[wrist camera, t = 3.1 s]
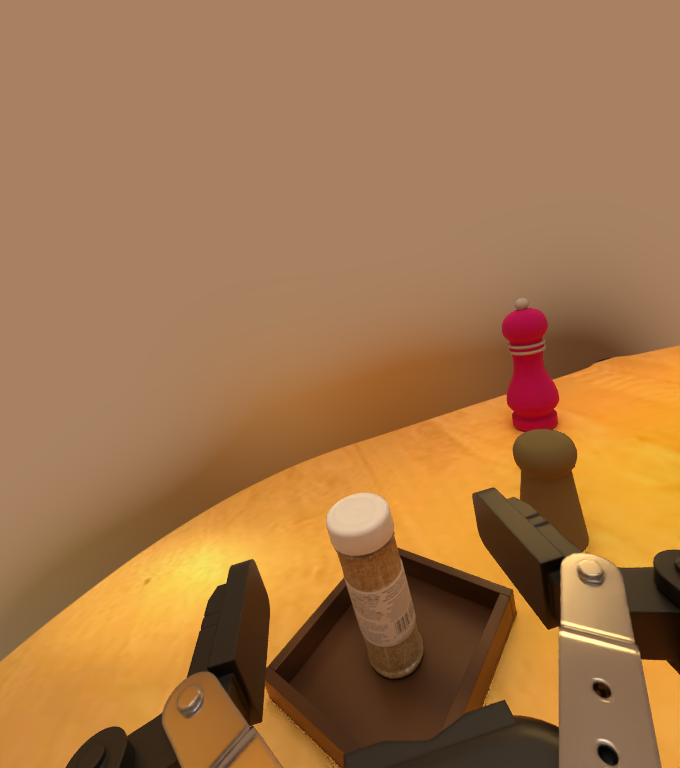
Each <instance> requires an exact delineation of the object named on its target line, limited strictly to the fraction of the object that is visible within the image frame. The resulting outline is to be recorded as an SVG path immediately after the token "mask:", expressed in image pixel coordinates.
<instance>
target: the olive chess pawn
mask: <svg viewBox="0 0 680 768" xmlns="http://www.w3.org/2000/svg"><path fill="white" fill-rule="evenodd" d="M513 455H514V459H515V462H516V464H517V465H518V466H519V468H520V469H521V488H520V500H521V501H523V502H526V503H528V504H529V505H530V506H532V507H533V508H534V509H535V510H536V511H537V512H538V513H539V515H542V516H543V517H544V518H545V519H546V520H547V521H548V523H550V524H552V525H553V526H554V527H555V528H556V529H557V530H558V531H559V532H560V533H562V534H563V535H564V536H565V537H566V538H567V539H568V540H569V541H571V542H572V543H573V544H574V545H575V546H576V547H577V548H578V549H579V550H581V551H584V550H585V548H586V547H587V546H588V541H589V537H588V533H587V529H586V525H585V521H584V518H583V514H582V510H581V506H580V502H579V498H578V494H577V490H576V486H575V483H574V479H573V475H572V471H571V470H572V469H573V468H574V467H575V464H576V460H577V450H576V447H575V445H574V443H573V441H572V440H571V439H570V438H569V437H568V436H567V435H565V434H564V433H561V432H558V431H555V430H550V429H536V430H531V431H528V432H525V433H523V434H521V435H520V436H518V438H517V439H516V441H515V443H514V445H513Z"/></svg>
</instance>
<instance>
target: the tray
mask: <svg viewBox="0 0 680 768" xmlns="http://www.w3.org/2000/svg"><path fill="white" fill-rule="evenodd" d="M397 549H398V552H399V556H400V558H401V560H402V563H403V567H404V571H405V575H406V579H407V583H408V587H409V591H410V595H411V599H412V603H413V607H414V611H415V617H416V624H417V628H418V632H419V633H420V636H421V638H422V641H423V656H422V659H421V662H420V663H419V665H418V667H417V668H416V669H415V670H414V671H413V672H412V673H411V674H409V675H407V676H405V677H403V678H397V679H389V678H387V677H384V676H382V675H381V674H379V673H378V672H377V671H376V670H375V669H374V668H373V667H372V666H371V663H370V660H369V658H368V653H367V647H366V643H365V640H364V637H363V634H362V632H361V630H360V627H359V624H358V620H357V617H356V614H355V611H354V608H353V605H352V601H351V598H350V595H349V592H348V588H347V585H346V582H345V579H344V578H343V579H342V581H341V582H340V583H339V584H338V585H337V586H336V588H335V589H334V590H333V591H332V592H331V593H330V595H329V596H328V597H327V598H326V599H325V600H324V602H323V603H322V604H321V605H320V606H319V607H318V609H317V610H316V611H315V612H314V613H313V614H312V616H311V617H310V618H309V619H308V620H307V621H306V623H305V624H304V625H303V626H302V627H301V628H300V630H299V631H298V632H297V633H296V634H295V635H294V637H293V638H292V639H291V640H290V641H289V642H288V644H287V645H286V646H285V647H284V648H283V649H282V651H281V652H280V653H279V654H278V655H277V656H276V658H275V659H274V660H273V661H272V662H271V663H270V665H269V666H268V667H267V668H266V675H265V687H266V689H267V692H268V694H269V697H270V698H271V699H272V700H273V701H274V702H275V703H276V704H277V705H278V706H279V707H280V708H281V709H282V710H283V711H284V712H285V713H286V714H287V715H288V716H289V717H290V718H291V719H292V720H293V721H294V722H295V723H296V724H297V725H298V726H299V727H300V728H301V729H302V730H303V731H305V732H306V733H307V734H308V735H309V736H310V737H311V738H312V739H313V740H314V741H315V742H316V743H317V744H318V745H319V746H320V747H321V748H322V749H323V750H324V751H325V752H326V753H327V754H328V755H329V756H330V757H331V758H332V759H333V760H334V761H335V762H336V763H337V764H338V765H339V766H340V767H341V768H345V767H344V758H343V754H346V753H349V752H352V751H355V750H358V749H361V748H364V747H367V746H369V745H372V744H375V743H378V742H381V741H425V740H430V739H432V738H433V737H435V736H436V735H437V734H439V733H440V732H441V731H443V730H444V729H445V728H447V727H448V726H449V725H451V724H452V723H453V722H455V721H456V720H457V719H459V718H460V717H461V716H462V715H464V714H465V713H467V712H470V711H473V710H476V709H479V708H482V705H483V702H484V699H485V697H486V694H487V691H488V689H489V686H490V683H491V681H492V678H493V675H494V673H495V670H496V667H497V665H498V662H499V659H500V657H501V654H502V651H503V648H504V646H505V643H506V640H507V638H508V635H509V632H510V630H511V627H512V624H513V622H514V619H515V616H516V614H517V613H516V607H515V601H514V594H513V590H512V589H510V588H507V587H504V586H501V585H499V584H496V583H493V582H490V581H488V580H485V579H482V578H479V577H477V576H474V575H471V574H468V573H466V572H463V571H460V570H457V569H455V568H452V567H449V566H447V565H444V564H441V563H438V562H436V561H433V560H430V559H427V558H425V557H422V556H419V555H416V554H414V553H411V552H408V551H405V550H403V549H400V548H397Z"/></svg>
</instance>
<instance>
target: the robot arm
mask: <svg viewBox="0 0 680 768" xmlns="http://www.w3.org/2000/svg"><path fill="white" fill-rule="evenodd" d="M472 497H473V504H474V510H475V516H476V522H477V527H478V532H479V535H480V537H481V540H482V542H483V544H484V545H485V547H486V548H487V550H488V551H489V552H490V554H491V555H492V556H493V558H494V559H495V560H496V562H497V563H498V564H499V566H500V567H501V568H502V570H503V571H504V572H505V574H506V575H507V576H508V578H509V579H510V580H511V581H512V583H513V584H514V585H515V587H516V588H517V589H518V591H519V592H520V593H521V595H522V596H523V597H524V599H525V600H526V601H527V603H528V604H529V605H530V607H531V608H532V609H533V611H534V612H535V613H536V615H537V616H538V617H539V619H540V620H541V621H542V623H543V624H544V625H545V626H546V628H547V629H548V630H549V629H552V628H555V627H558V626H559V727H557V726H555V725H553V724H550V723H548V722H545V721H543V720H539V719H536V718H532V717H526V716H515V715H512V713H511V711H510V709H509V707H508V705H507V703H506V701H505V700H503V701H500V702H497V703H494V704H491V705H488V706H485V707H482V708H479V709H476V710H473V711H470V712H467V713H465V714H464V715H462V716H461V717H460V718H459V719H457V720H456V721H455V722H453V723H452V724H451V725H449V726H448V727H447V728H445V729H444V730H443V731H441V732H440V733H439V734H437V735H436V736H435V737H433V738H432V739H430V740H425V741H381V742H378V743H375V744H372V745H369V746H367V747H364V748H361V749H358V750H355V751H352V752H349V753H346V754H343V758H344V767H345V768H662V767H661V762H660V757H659V751H658V746H657V741H656V736H655V730H654V725H653V720H652V714H651V709H650V704H649V699H648V693H647V688H646V683H645V677H644V672H643V667H642V662H641V659H646V660H667V661H668V663H669V664H670V665H671V666H672V667H673V668H674V669H675V670H676V671H677V672H678V673H679V674H680V550H666V551H662V552H660V553H658V554H657V555H656V556H655V557H654V562H653V565H654V567H644V568H619V567H616V566H615V565H614V564H613V563H611V562H610V561H608V560H607V559H605V558H602V557H600V556H597V555H594V554H589V553H583V552H582V551H581V550H579V549H578V548H577V547H576V546H575V545H574V544H573V543H572V542H571V541H569V540H568V539H567V538H566V537H565V536H564V535H563V534H562V533H560V532H559V531H558V530H557V529H556V528H555V527H554V526H553V525H552V524H550V523H548V521H547V520H546V519H545V518H544V517H543V516H542V515H539V513H538V512H537V511H536V510H535V509H534V508H533V507H532V506H530V505H529V504H528V503H526V502H523V501H521V500H519V499H517V498H515V497H512V498H509V499H506V498H505V497H504V496H503V495H502V494H501V493H500V492H499V491H498V490H497V489H495V488H489V489H486V490H483V491H479V492H476V493H473V496H472ZM269 620H270V605H269V599H268V595H267V592H266V589H265V586H264V584H263V581H262V578H261V576H260V573H259V571H258V568H257V565H256V563H255V561H254V560H253V559H251V560H248V561H245V562H241V563H238V564H235V565H232V566H231V567H230V569H229V574H228V578H227V582H226V584H223V585H220V586H218V587H217V588H216V590H215V591H214V593H213V594H212V596H211V597H210V599H209V600H208V603H207V607H206V611H205V614H204V618H203V621H202V625H201V631H200V632H199V636H198V639H197V643H196V647H195V650H194V654H193V657H192V661H191V665H190V668H189V672H188V675H187V678H186V679H185V680H184V681H183V682H181V683H180V684H179V685H178V686H177V687H176V688H175V690H174V691H173V692H172V694H171V695H170V696H169V698H168V700H167V702H166V704H165V706H164V709H163V712H162V713H161V714H160V715H159V716H157V717H156V718H154V719H153V720H151V721H150V722H148V723H147V724H145V725H144V726H142V727H141V728H139V729H137V730H136V731H134V732H133V733H131V734H130V735H128V736H127V735H126V733H125V731H124V730H123V729H122V728H120V727H109V728H106V729H104V730H102V731H100V732H98V733H97V734H95V735H94V736H93V737H91V738H90V739H89V740H88V741H87V742H85V743H84V744H83V745H82V746H81V747H80V748H79V750H78V751H77V752H76V753H75V754H74V756H73V757H72V758H71V760H70V761H69V763H68V765H67V766H66V768H283V767H282V765H281V764H280V763H279V761H278V760H277V758H276V757H275V755H274V754H273V753H272V751H271V750H270V748H269V747H268V745H267V744H266V743H265V741H264V740H263V738H262V737H261V735H260V734H259V733H258V731H257V730H256V729H255V727H254V726H251V725H254V724H258V723H261V722H262V716H263V702H264V689H265V675H266V661H267V648H268V634H269ZM250 726H251V727H250Z"/></svg>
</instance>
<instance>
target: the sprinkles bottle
mask: <svg viewBox="0 0 680 768" xmlns="http://www.w3.org/2000/svg"><path fill="white" fill-rule="evenodd" d="M326 525H327V529H328V533H329V536H330V539H331V542H332V545H333V547H334V548H335V550H336V552H337V554H338V557H339V559H340V563H341V566H342V569H343V573H344V579H345V582H346V585H347V588H348V592H349V595H350V598H351V601H352V605H353V608H354V611H355V614H356V617H357V620H358V624H359V627H360V630H361V632H362V634H363V637H364V640H365V643H366V647H367V653H368V658H369V660H370V663H371V666H372V667H373V668H374V669H375V670H376V671H377V672H378V673H379V674H381V675H382V676H384V677H387V678H389V679H397V678H403V677H405V676H407V675H409V674H411V673H412V672H413V671H414V670H415V669H416V668H417V667H418V665H419V663H420V662H421V659H422V656H423V641H422V638H421V636H420V633H419V632H418V628H417V624H416V617H415V611H414V607H413V603H412V599H411V595H410V591H409V587H408V583H407V579H406V575H405V571H404V567H403V563H402V560H401V558H400V556H399V552H398V549H397V545H396V541H395V537H394V523H393V519H392V515H391V512H390V508H389V505H388V503H387V502H386V500H385V499H383V498H382V497H381V496H379V495H376V494H372V493H358V494H353V495H350V496H348V497H345V498H343V499H341V500H340V501H338V502H337V503H336V504H335V505H333V507H332V508H331V509H330V510H329V512H328V514H327V517H326Z"/></svg>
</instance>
